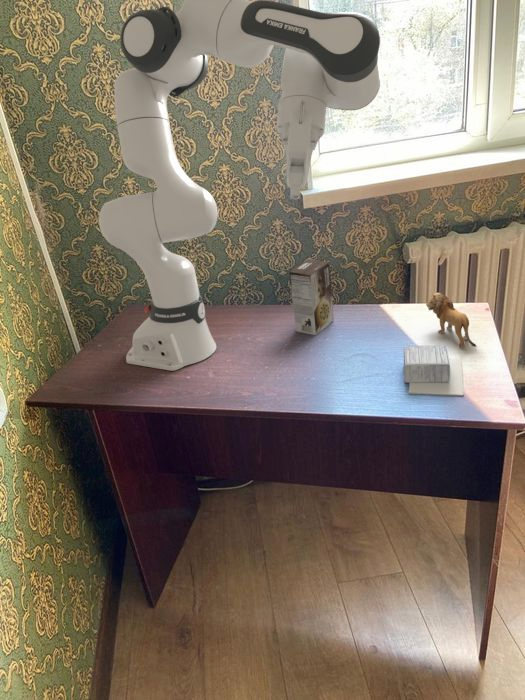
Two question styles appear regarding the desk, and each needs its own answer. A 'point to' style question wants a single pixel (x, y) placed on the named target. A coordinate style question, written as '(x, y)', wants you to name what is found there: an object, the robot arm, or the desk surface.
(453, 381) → the mat
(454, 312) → the lion figurine
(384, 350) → the desk surface
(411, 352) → the medicine box
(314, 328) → the coffee box
